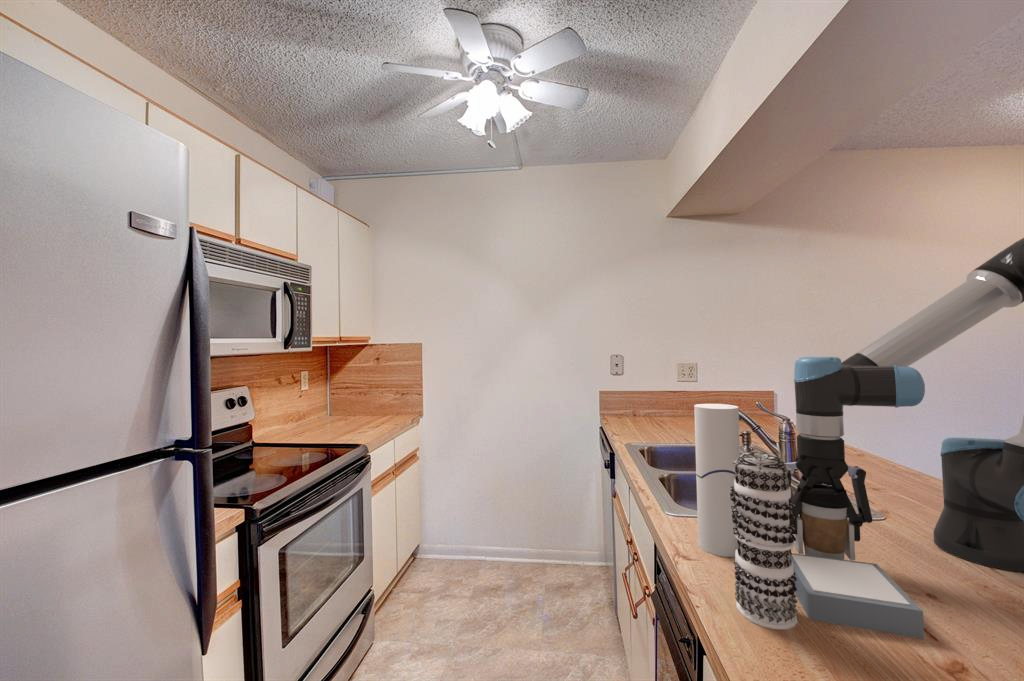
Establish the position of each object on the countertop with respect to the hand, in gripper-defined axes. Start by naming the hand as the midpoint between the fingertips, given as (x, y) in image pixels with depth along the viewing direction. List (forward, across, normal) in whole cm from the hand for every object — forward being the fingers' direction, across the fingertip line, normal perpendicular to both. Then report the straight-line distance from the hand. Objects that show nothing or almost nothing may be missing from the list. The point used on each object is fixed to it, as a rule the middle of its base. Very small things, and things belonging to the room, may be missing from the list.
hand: (823, 553), depth 81 cm
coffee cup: (+2, 0, 0) cm, 2 cm away
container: (+2, +18, -2) cm, 18 cm away
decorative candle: (+2, +14, +20) cm, 25 cm away
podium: (+2, +1, +13) cm, 13 cm away
